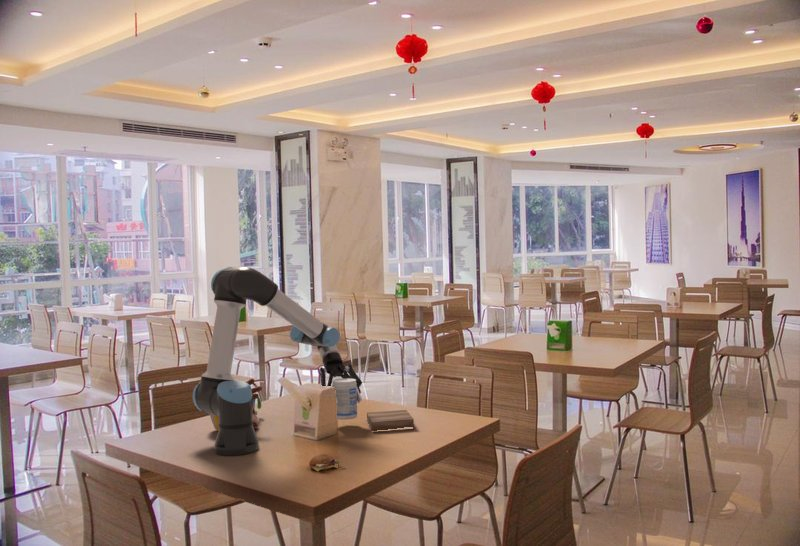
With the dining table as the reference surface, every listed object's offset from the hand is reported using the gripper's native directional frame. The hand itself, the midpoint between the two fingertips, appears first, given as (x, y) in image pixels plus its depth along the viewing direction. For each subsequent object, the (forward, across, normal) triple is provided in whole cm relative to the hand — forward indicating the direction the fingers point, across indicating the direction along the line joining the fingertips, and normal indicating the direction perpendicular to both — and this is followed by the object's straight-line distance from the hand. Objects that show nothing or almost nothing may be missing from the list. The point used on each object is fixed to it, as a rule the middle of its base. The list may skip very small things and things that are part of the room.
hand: (348, 402), depth 267 cm
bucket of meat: (-15, +46, -21) cm, 53 cm away
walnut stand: (+11, -15, -2) cm, 19 cm away
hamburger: (+37, +26, +21) cm, 50 cm away
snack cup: (-20, +30, -34) cm, 50 cm away
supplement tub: (+2, 0, -7) cm, 7 cm away
